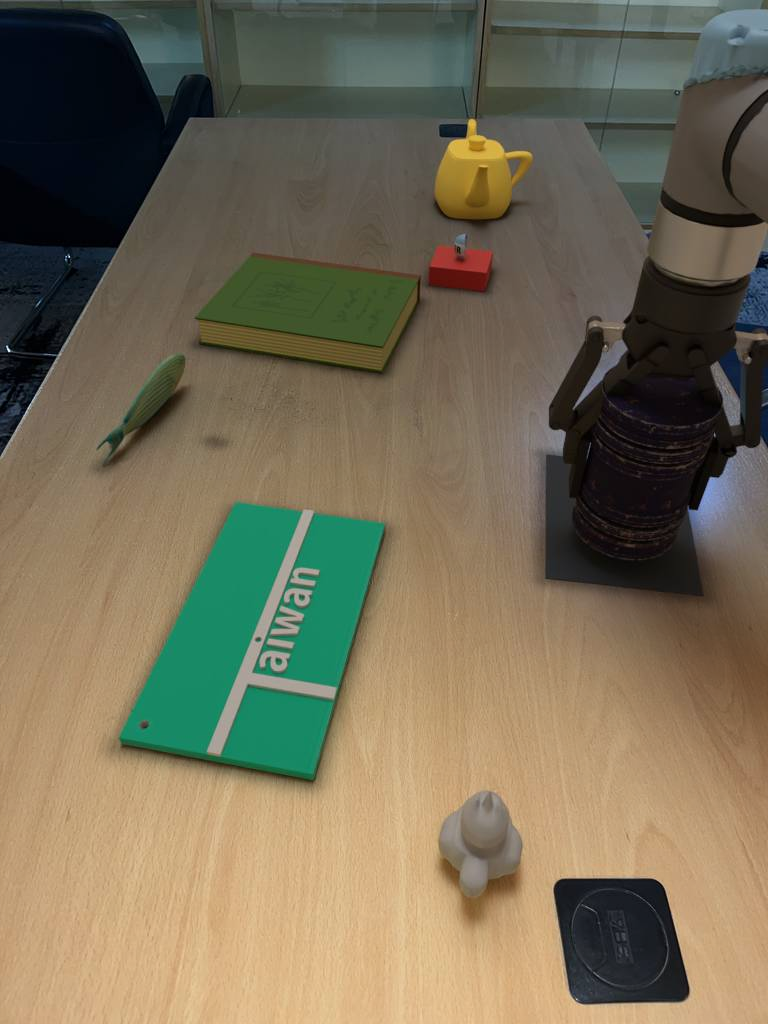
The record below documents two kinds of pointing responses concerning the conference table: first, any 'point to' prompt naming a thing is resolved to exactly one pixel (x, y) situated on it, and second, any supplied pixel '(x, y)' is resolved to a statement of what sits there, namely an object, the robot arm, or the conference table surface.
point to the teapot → (477, 177)
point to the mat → (591, 566)
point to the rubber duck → (480, 841)
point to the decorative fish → (148, 399)
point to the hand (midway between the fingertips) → (631, 494)
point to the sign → (261, 642)
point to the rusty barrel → (643, 467)
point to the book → (311, 311)
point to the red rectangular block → (460, 266)
